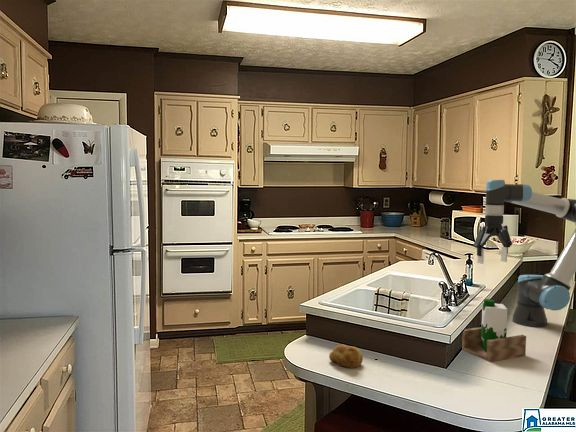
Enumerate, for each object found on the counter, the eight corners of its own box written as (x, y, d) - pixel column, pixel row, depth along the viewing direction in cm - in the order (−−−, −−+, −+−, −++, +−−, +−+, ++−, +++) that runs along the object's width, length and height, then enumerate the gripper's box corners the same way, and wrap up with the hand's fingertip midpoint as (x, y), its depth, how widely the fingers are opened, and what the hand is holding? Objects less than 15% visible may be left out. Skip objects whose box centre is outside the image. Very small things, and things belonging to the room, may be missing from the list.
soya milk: (478, 345, 203) (480, 297, 202) (502, 346, 202) (504, 298, 200) (483, 352, 195) (485, 302, 193) (507, 354, 193) (510, 303, 191)
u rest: (494, 343, 209) (495, 324, 208) (525, 355, 194) (526, 336, 194) (460, 348, 202) (461, 329, 201) (489, 361, 187) (490, 341, 187)
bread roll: (324, 363, 185) (324, 342, 184) (339, 356, 192) (339, 336, 192) (352, 372, 177) (353, 350, 176) (367, 364, 184) (368, 343, 183)
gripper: (508, 213, 227) (506, 259, 229) (465, 214, 218) (464, 262, 219) (522, 214, 220) (520, 262, 222) (478, 216, 211) (476, 265, 212)
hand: (492, 262), depth 221 cm, fingers open, 13 cm apart
